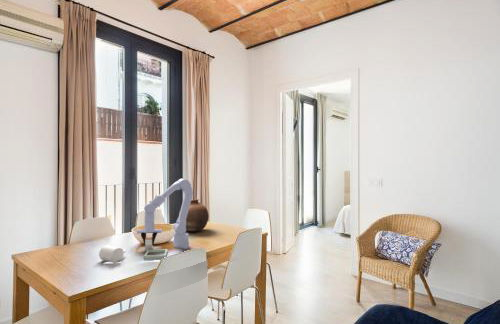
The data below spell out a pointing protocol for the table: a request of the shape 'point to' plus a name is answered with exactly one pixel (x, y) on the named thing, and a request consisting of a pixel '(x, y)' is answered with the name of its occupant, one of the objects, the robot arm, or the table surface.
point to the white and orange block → (148, 241)
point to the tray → (155, 255)
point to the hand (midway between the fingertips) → (149, 244)
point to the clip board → (147, 248)
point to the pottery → (196, 216)
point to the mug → (111, 253)
